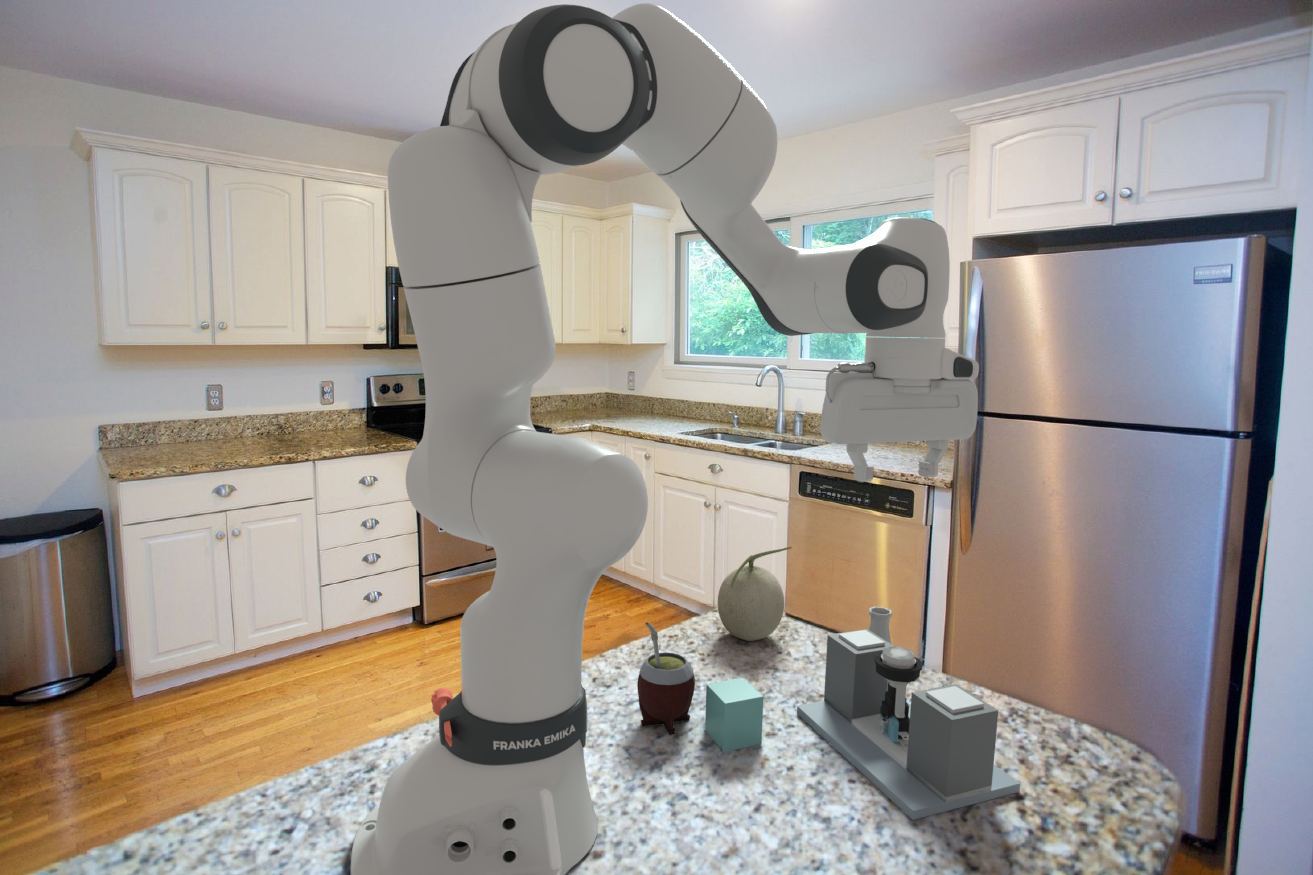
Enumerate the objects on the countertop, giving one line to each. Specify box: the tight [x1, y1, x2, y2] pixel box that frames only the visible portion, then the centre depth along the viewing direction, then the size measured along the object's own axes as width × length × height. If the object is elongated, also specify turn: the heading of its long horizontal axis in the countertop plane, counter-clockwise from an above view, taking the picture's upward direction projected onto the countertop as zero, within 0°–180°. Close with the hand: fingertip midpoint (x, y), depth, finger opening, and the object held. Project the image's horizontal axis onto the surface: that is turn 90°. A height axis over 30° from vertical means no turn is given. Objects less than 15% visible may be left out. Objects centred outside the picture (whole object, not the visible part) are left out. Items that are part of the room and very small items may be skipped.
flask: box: [868, 606, 893, 645], centre depth 103 cm, size 7×7×10 cm
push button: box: [874, 645, 924, 748], centre depth 85 cm, size 7×5×10 cm
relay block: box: [704, 677, 764, 752], centre depth 87 cm, size 5×5×6 cm
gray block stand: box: [796, 628, 1021, 821], centre depth 85 cm, size 14×22×10 cm, turn 20°
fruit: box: [717, 546, 792, 642], centre depth 115 cm, size 10×12×15 cm
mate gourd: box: [636, 621, 696, 736], centre depth 89 cm, size 8×8×15 cm
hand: (896, 478), depth 88 cm, fingers open, 8 cm apart
